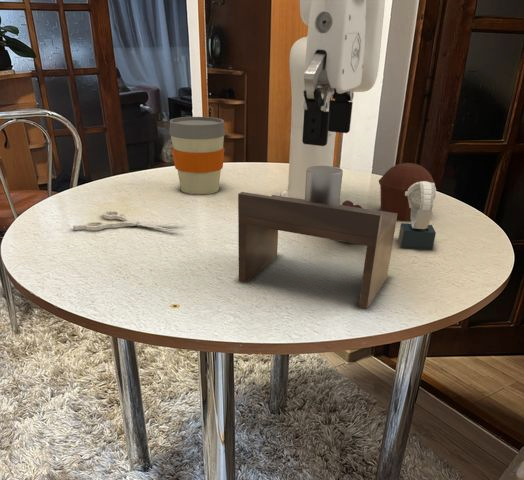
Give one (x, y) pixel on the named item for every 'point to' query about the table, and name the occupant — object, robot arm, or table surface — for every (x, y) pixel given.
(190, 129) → the reusable coffee cup
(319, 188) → the grey upright cylinder
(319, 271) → the table surface
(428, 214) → the head sculpture
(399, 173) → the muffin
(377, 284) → the shelf
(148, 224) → the scissors
